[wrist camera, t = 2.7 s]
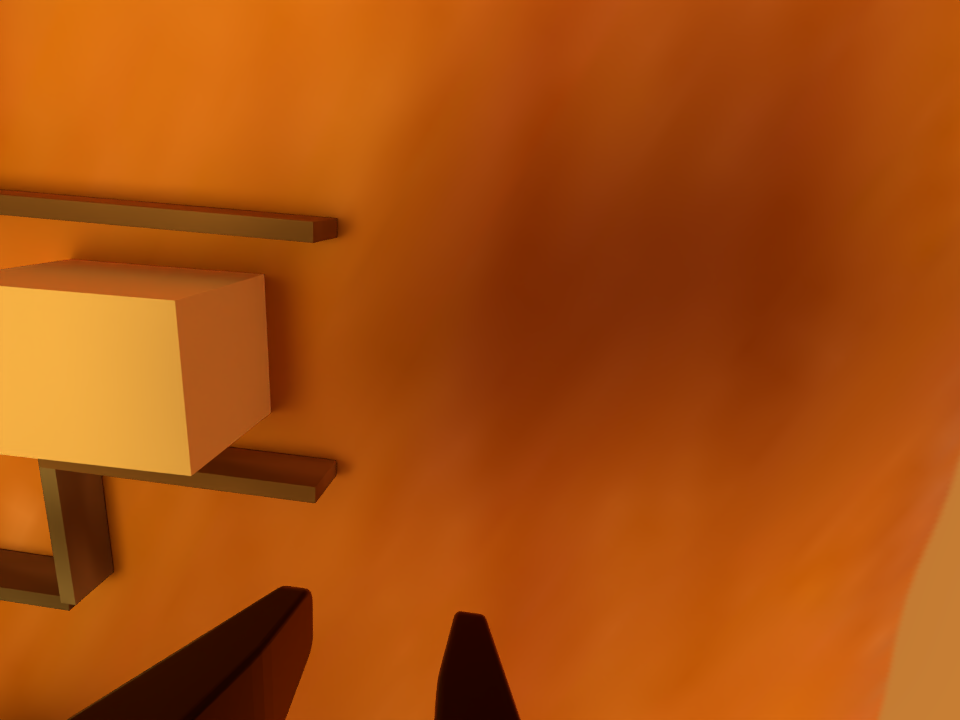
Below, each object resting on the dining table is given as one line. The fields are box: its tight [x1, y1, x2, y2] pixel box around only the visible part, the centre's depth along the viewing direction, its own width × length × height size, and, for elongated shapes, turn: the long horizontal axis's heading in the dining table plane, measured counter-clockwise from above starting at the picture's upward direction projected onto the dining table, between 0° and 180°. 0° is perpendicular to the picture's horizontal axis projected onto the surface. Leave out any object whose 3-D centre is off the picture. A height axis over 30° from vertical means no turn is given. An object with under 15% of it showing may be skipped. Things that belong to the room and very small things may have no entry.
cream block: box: [0, 259, 271, 476], centre depth 18 cm, size 5×7×5 cm
